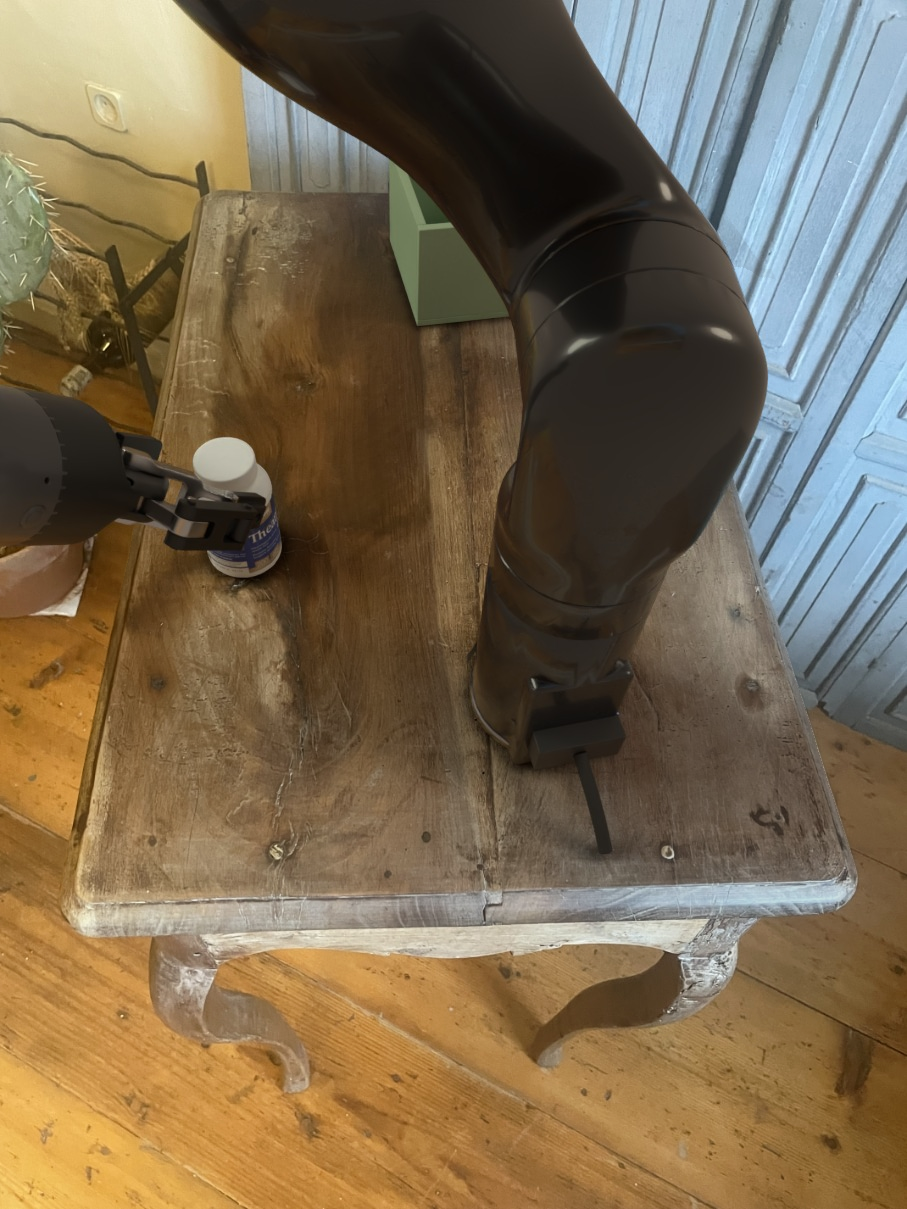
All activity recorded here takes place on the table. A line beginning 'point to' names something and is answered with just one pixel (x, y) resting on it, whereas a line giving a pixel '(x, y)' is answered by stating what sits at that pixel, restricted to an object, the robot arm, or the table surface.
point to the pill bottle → (238, 471)
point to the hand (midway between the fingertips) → (204, 482)
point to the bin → (436, 259)
